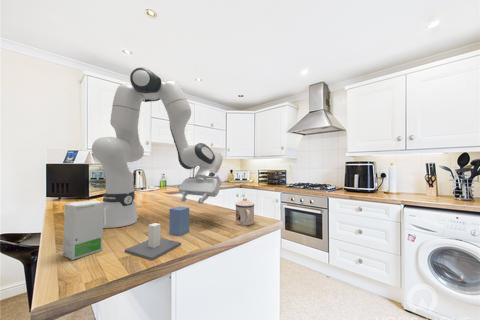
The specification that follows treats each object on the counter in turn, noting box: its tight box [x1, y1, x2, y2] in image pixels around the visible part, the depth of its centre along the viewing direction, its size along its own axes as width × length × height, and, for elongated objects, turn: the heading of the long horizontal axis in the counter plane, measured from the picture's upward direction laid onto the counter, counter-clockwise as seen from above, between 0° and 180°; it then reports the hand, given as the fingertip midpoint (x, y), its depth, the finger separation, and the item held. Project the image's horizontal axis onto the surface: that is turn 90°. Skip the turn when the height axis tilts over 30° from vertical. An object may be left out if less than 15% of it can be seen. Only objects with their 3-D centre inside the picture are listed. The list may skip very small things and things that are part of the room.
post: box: [124, 222, 182, 261], centre depth 65 cm, size 12×12×8 cm
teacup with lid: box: [235, 197, 255, 226], centre depth 93 cm, size 12×9×12 cm
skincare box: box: [62, 200, 104, 261], centre depth 62 cm, size 8×7×16 cm
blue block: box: [168, 205, 190, 237], centre depth 80 cm, size 5×5×10 cm
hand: (191, 201), depth 87 cm, fingers open, 8 cm apart
